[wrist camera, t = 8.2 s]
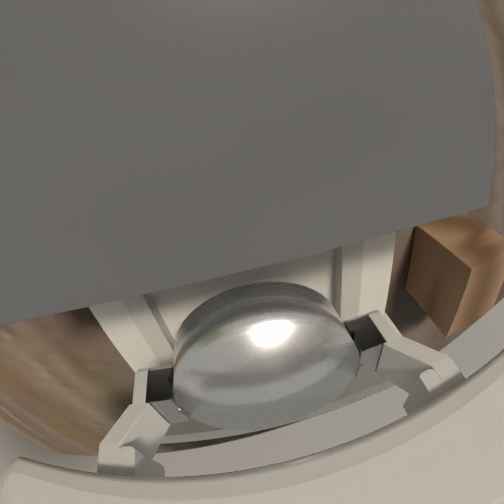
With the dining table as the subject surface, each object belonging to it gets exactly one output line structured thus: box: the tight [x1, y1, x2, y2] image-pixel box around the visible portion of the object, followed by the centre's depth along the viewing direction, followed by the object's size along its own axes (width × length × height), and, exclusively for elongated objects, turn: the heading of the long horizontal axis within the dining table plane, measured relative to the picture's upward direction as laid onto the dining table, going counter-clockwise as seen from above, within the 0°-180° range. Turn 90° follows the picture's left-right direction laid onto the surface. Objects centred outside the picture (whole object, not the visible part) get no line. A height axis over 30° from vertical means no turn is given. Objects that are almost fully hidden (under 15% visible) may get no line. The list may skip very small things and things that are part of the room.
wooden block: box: [405, 212, 504, 337], centre depth 14 cm, size 5×5×5 cm
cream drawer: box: [89, 232, 402, 444], centre depth 11 cm, size 17×15×5 cm
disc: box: [173, 282, 360, 430], centre depth 9 cm, size 6×6×2 cm
